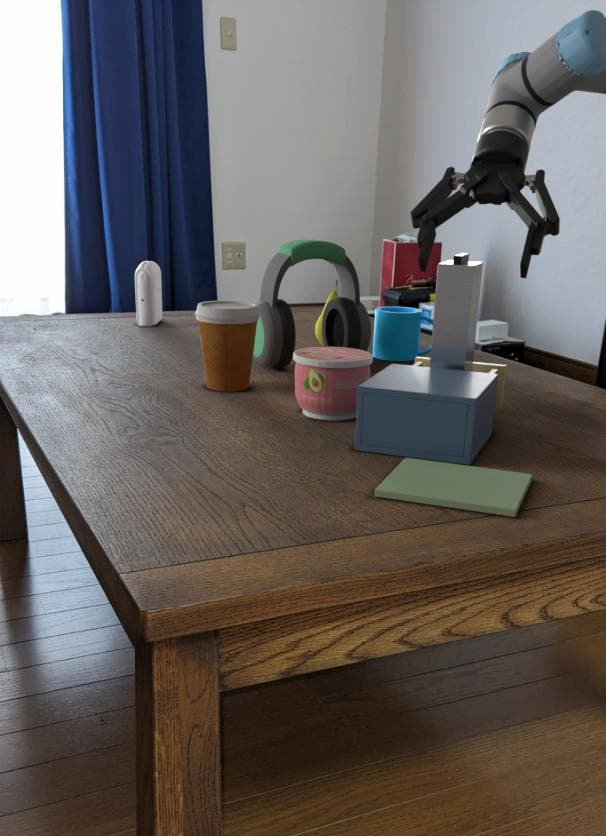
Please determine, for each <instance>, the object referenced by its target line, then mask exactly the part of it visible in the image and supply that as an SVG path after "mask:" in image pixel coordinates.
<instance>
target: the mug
mask: <svg viewBox="0 0 606 836" xmlns="http://www.w3.org/2000/svg"><path fill="white" fill-rule="evenodd" d="M433 319H434V318H432V317H430V316H427V315H425V314H423V310H422V309H420V308H416V307H408V306H394V305H393V306H379V307H375V308H374V325H373V326H374V327H373V341H372V355H373V358H375V359H378V360H383V361H388V362H389V361H392V362H410V361H415V358H416V357H420V356H424V355H428V354H431V346H429V347H428V348H425V349H423V350H420V343H421V342H420V341H421V329H422V321H425V322H428V323H429V324H430V325H431V326H433Z"/></svg>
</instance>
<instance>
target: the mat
mask: <svg viewBox="0 0 606 836" xmlns="http://www.w3.org/2000/svg"><path fill="white" fill-rule="evenodd" d="M532 481H533V473H526V472H518V471H511V470H504V469H503V470H502V469H497V468H494V469H493V468H488V467H481V466H473V465H464V464H457V463H449V462H442V461H434V460H426V459H419V458H411V457H404V459H403V460H402V461H400V463H399V464H397V466H396V467H395V468H394V469H393V470H392V471H391V472H390V473H389V474H388V475H387V476H386V477H385V478H384V479H383V481H382V482H381V483H380V484H379V485H377V487H376V488H375V489H374V497H375V498H383V499H389V500H394V501H395V500H396V501H403V502H408V503H409V502H410V503H416V504H423V505H430V506H436V507H444V508H449V509H450V508H451V509H457V510H464V511H470V512H477V513H484V514H490V515H491V514H492V515H498V516H504V517H511V518H516V516H517V514H518V512H519V510H520V508H521V506H522V503H523V502H524V501H523V500H524V498H525V497H526V495H527V492H528V491H529V488H530V486H531V483H532Z"/></svg>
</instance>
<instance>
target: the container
mask: <svg viewBox="0 0 606 836" xmlns="http://www.w3.org/2000/svg"><path fill="white" fill-rule="evenodd" d="M292 360H293V361H294V362H295V365H294V387H295V388H294V393H295V399H296V401H297V404H298V406H299V407H301V409H302V414H303V415H304V416H306V417H307V418H310V419H315V420H320V421H321V420H323V421H347V420H353V419H356V412H357V393H358V386H359V385H361V384H362V383H364V382H365V381H367V380H368V379H370V378H371V364H373V362H374V357H373V353H371V352H369V351H368V350H367V351H363V350H359V349H354V348H345V347H324V346H309V347H303V348H300V349H296V350H294V353H293V358H292Z"/></svg>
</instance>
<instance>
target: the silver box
mask: <svg viewBox="0 0 606 836" xmlns="http://www.w3.org/2000/svg"><path fill="white" fill-rule="evenodd" d="M469 259H470V253H467V252H461V253H458V254H455V255H453V259H448V260H445V261H441V262H439V263H437V271H436V284H435V296H434V307H433V318H432V319H433V325H432V330H431V331H432V333H431V345H430V347H431V352H430V357H429V358H430V368H441V369H451V370H461V371H471V372H472V369H473V362H474V359H475V358H474V356H475V347H476V338H477V337H476V336H477V327H478V317H479V306H480V297H481V288H482V287H481V286H482V276H483V266H484V262H483V261H472V260H470V261H469Z"/></svg>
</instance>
